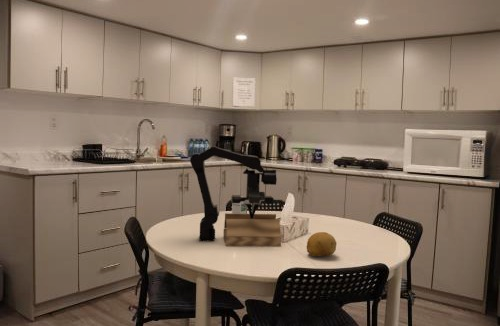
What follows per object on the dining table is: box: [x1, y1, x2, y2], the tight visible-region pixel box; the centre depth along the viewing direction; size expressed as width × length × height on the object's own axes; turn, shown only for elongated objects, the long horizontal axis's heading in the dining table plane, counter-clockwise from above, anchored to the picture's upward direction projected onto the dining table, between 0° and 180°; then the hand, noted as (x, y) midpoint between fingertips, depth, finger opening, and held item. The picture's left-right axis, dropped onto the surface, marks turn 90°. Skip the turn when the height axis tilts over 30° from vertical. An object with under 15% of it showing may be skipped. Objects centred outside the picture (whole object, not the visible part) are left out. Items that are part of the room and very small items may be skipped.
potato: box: [306, 231, 337, 257], centre depth 176 cm, size 10×12×10 cm
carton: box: [223, 228, 282, 247], centre depth 194 cm, size 24×15×4 cm, turn 98°
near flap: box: [226, 218, 282, 238], centre depth 189 cm, size 8×24×1 cm
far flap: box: [223, 212, 277, 229], centre depth 200 cm, size 8×24×1 cm
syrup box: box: [231, 195, 248, 214], centre depth 226 cm, size 6×6×14 cm
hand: (251, 218), depth 195 cm, fingers closed
